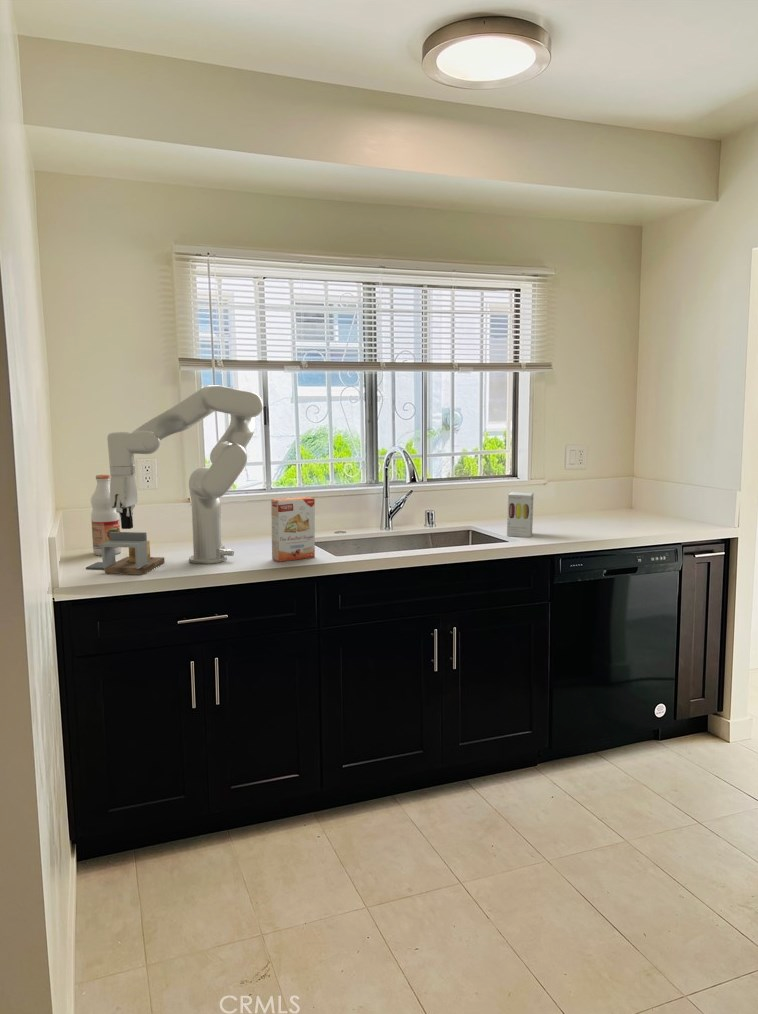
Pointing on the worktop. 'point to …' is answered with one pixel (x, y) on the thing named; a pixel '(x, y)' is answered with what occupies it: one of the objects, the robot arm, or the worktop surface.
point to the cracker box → (293, 528)
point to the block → (132, 553)
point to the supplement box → (520, 514)
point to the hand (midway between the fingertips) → (127, 528)
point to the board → (134, 566)
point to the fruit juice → (103, 515)
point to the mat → (96, 566)
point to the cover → (125, 540)
